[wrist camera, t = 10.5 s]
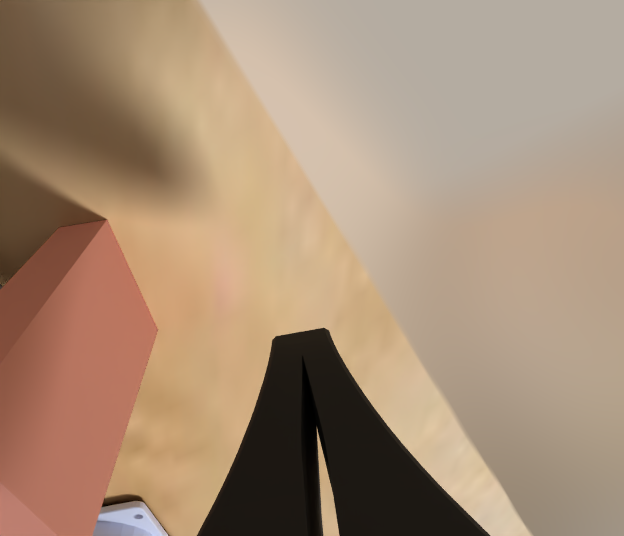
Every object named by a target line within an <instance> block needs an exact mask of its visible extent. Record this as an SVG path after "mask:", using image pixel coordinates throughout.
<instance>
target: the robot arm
mask: <svg viewBox="0 0 624 536" xmlns="http://www.w3.org/2000/svg"><path fill="white" fill-rule="evenodd" d="M316 425H317V426H316ZM317 429H318V433H319V438H320V442H321V446H322V450H323V454H324V458H325V462H326V466H327V471H328V475H329V479H330V483H331V487H332V491H333V495H334V502H335V508H336V515H337V522H338V528H339V535H340V536H490V535H489V534H488V533H487V532H486V531H485V530H484V529H483V528H482V527H481V526H480V525H479V524H478V523H477V522H476V521H475V520H474V519H473V518H472V517H471V516H470V515H469V514H468V513H467V512H466V511H465V510H464V509H463V508H462V507H461V506H460V505H459V504H458V503H457V502H456V501H455V500H454V499H453V498H452V497H451V496H450V495H449V494H448V493H447V492H446V491H445V490H444V489H443V488H442V487H441V486H440V485H439V484H438V483H437V482H436V481H435V480H434V479H433V478H432V477H431V475H430V474H429V473H428V472H427V471H426V470H425V469H424V468H423V467H422V466H421V465H420V464H419V462H418V461H417V460H416V459H415V458H414V457H413V456H412V454H411V453H410V452H409V451H408V450H407V449H406V448H405V446H404V445H403V444H402V443H401V442H400V440H399V439H398V438H397V437H396V436H395V434H394V433H393V432H392V431H391V429H390V428H389V427H388V426H387V424H386V423H385V422H384V420H383V419H382V418H381V416H380V415H379V414H378V413H377V411H376V410H375V409H374V407H373V406H372V404H371V403H370V402H369V400H368V399H367V397H366V396H365V394H364V393H363V392H362V390H361V389H360V387H359V386H358V384H357V383H356V381H355V380H354V378H353V377H352V375H351V373H350V372H349V370H348V369H347V367H346V365H345V363H344V362H343V360H342V358H341V356H340V355H339V353H338V351H337V349H336V347H335V345H334V343H333V340H332V338H331V335H330V332H329V330H327V329H325V328H321V329H315V330H309V331H304V332H298V333H292V334H286V335H281V336H276V337H275V338H274V339H273V340H272V347H271V352H270V357H269V362H268V366H267V370H266V373H265V377H264V381H263V384H262V387H261V390H260V393H259V396H258V400H257V403H256V406H255V409H254V412H253V414H252V417H251V420H250V422H249V425H248V427H247V430H246V433H245V435H244V438H243V440H242V443H241V445H240V448H239V450H238V453H237V455H236V457H235V460H234V462H233V464H232V466H231V469H230V471H229V473H228V475H227V477H226V479H225V482H224V484H223V486H222V488H221V490H220V492H219V494H218V496H217V498H216V500H215V502H214V504H213V506H212V508H211V510H210V512H209V514H208V516H207V517H206V519H205V521H204V523H203V525H202V527H201V529H200V531H199V533H198V535H197V536H323V527H322V515H321V497H320V479H319V461H318V444H317ZM92 536H168V534H167V533H166V532H165V530H164V529H163V528H162V526H161V525H160V524H159V522H158V521H157V519H156V518H155V517H154V515H153V514H152V513H151V511H150V510H149V509H148V507H147V506H146V505H145V503H143V502H141V501H132V502H126V503H121V504H116V505H110V506H105V507H101V510H100V513H99V516H98V519H97V522H96V526H95V529H94V532H93V535H92Z"/></svg>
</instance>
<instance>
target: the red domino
mask: <svg viewBox="0 0 624 536" xmlns="http://www.w3.org/2000/svg"><path fill="white" fill-rule="evenodd" d="M157 332H158V329H157V327H156V324H155V322H154V320H153V318H152V316H151V314H150V311H149V309H148V307H147V305H146V303H145V301H144V298H143V296H142V294H141V292H140V290H139V288H138V285H137V283H136V281H135V279H134V277H133V275H132V272H131V270H130V268H129V266H128V264H127V262H126V259H125V257H124V255H123V253H122V251H121V248H120V246H119V244H118V242H117V240H116V238H115V235H114V233H113V231H112V229H111V227H110V225H109V222H108V220H102V221H96V222H89V223H83V224H77V225H71V226H65V227H59V228H58V229H57V230H56V231H55V232H54V233H53V234H52V235H51V236H50V238H49V239H48V240H47V241H46V242H45V243H44V244H43V245H42V246H41V247H40V248H39V249H38V250H37V251H36V252H35V253H34V255H33V256H32V257H31V258H30V259H29V260H28V261H27V262H26V263H25V264H24V265H23V266H22V267H21V268H20V269H19V270H18V271H17V273H16V274H15V275H14V276H13V277H12V278H11V279H10V280H9V281H8V282H7V283H6V284H5V285H4V286H3V287H2V288H1V290H0V536H92V535H93V532H94V529H95V526H96V522H97V519H98V516H99V513H100V510H101V507H102V504H103V501H104V497H105V494H106V491H107V488H108V485H109V482H110V479H111V476H112V472H113V469H114V466H115V463H116V460H117V457H118V454H119V451H120V447H121V444H122V441H123V438H124V435H125V432H126V429H127V426H128V422H129V419H130V416H131V413H132V410H133V407H134V404H135V401H136V397H137V394H138V391H139V388H140V385H141V382H142V379H143V375H144V372H145V369H146V366H147V363H148V360H149V357H150V354H151V350H152V347H153V344H154V341H155V338H156V335H157Z"/></svg>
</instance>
